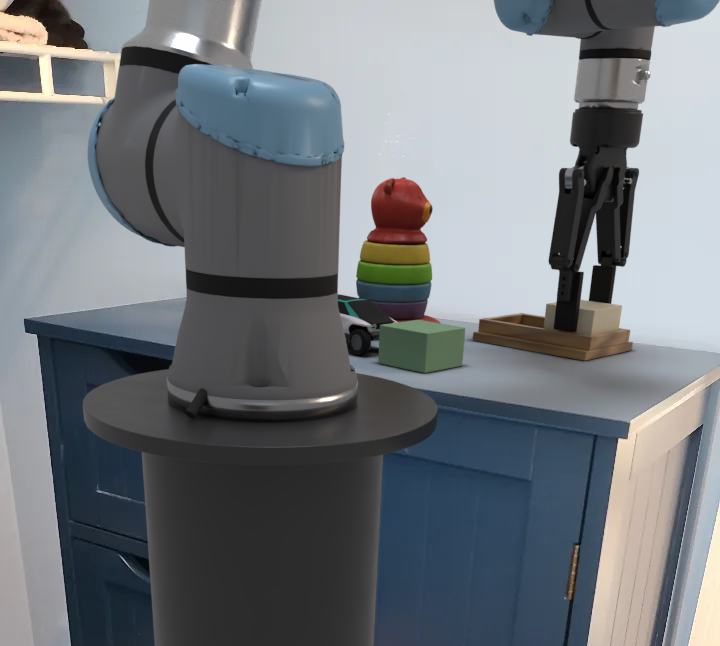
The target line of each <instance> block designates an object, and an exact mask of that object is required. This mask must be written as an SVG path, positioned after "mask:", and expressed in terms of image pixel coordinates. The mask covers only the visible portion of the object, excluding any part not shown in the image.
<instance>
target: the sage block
mask: <svg viewBox="0 0 720 646" xmlns="http://www.w3.org/2000/svg"><path fill="white" fill-rule="evenodd" d="M465 335H466V327H463V326H457V325H451V324H446V323H441V322H440V323H435V322H429V321H423V320H413V321H406V322H398V323H391V324H383V325H380V337H379V340H378V358H377V360H378V361H377V362H378V364H380V365H385V366H388V367H389V366H390V367H394V368H399V369H404V370H407V371H412V372H417V373H421V374H428V373H432V372H437V371H442V370H447V369H453V368H457V367H458V368H459V367H462V366H463V360H464V349H465Z"/></svg>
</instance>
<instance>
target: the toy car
mask: <svg viewBox="0 0 720 646" xmlns="http://www.w3.org/2000/svg"><path fill="white" fill-rule="evenodd" d="M338 308H339V313H340V317H341V321H342V325H343V329H344V333H345V338H346V341H347V340H348V344H349V349H350V351H351V352H352V353H353V354H354V355H356V356H364V355H366V354H368V353H369V352H370V349H371V346H372V342H377V341H378V342H379V337H380V325H383V324H391V323H398V322H397V321H395V320H393V319H392V318H390V317H388V316H387V315H386V314H385V313H384V312H383V311H382V310H380V309H379V308H378V307H377V306H376V305H375V304H373V303H372V302H371V301H369V300H365V299H360V298H359V297H355V296H350V295H346V294H339V293H338Z"/></svg>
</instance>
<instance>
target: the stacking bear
mask: <svg viewBox="0 0 720 646" xmlns="http://www.w3.org/2000/svg"><path fill="white" fill-rule="evenodd" d="M433 208H434V207H433V205H432V203H431V202H430V200H429V199H428V198H427V197H426V195H425V194H424V191H423V189H422V187H420V185H419V184H418V183H417V182H416V181H415V180H412V179H408V178H406V177H405V176H403V177H400V178H394V177H391V178H388V179H386V180H383V181H382V182H381V183H379V184H378V185H377V186H376V188H375V189H374V191H373V193H372V195H371V199H370V209H371V217H372V220H373V223H374V226H375V228H374V229H372V230H371V231H370V232H368V235H367V236H366V240H364V241H363V243H362V245H361V249H360V253H359V260H358V261H357V262H358V263H357V267H356V278H357V279H356V281H355V283H356V284H355V287H356V294H357V297H358V298H360V299H365V300H369V301H371V302H372V303H373V304H375V305H376V306H377V307H378V308H379V309H380V310H382V311H383V312H384V313H385V314H386V315H387V316H388V317H390V318H392V319H393V320H395V321H397V322H406V321H413V320H423V321H429V322H435V323H441V322H440V321H439V320H438V319H436V318H435V317H433V316H430V315H426V311H427V307H428V303H429V300H428V299H430V295H431V290H432V280H433V267H432V263H431V254H430V248H429V245H428V243H427V242H428V238H427V236H426V234H425V233H424V232H423V231H422V230H421V229H422V228H424V226H425V225H426V224H428V222H429V220H430V218H431V216H432V213H433Z"/></svg>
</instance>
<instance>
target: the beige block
mask: <svg viewBox="0 0 720 646" xmlns="http://www.w3.org/2000/svg"><path fill="white" fill-rule="evenodd" d="M556 302H557V301H555V302H548V303H545V313H544V317H545V320H544V328H545V329H551V330H557V331H563V332H569V333H575V334H582V335H588V336H590V335H596V334H601V333H606V332H612V331H617V330H619V328H620V323H621V317H622V310H623V305H622V304H615V303H611V304H608V303H601V302H593V301H589V300H584V299H581V300H580V309H579V315H578V323H577V331H576V332H570V331H564V330H558V329H554V320H555V311H556Z"/></svg>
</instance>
